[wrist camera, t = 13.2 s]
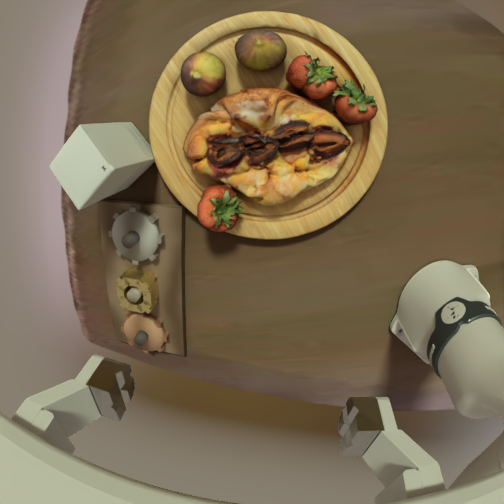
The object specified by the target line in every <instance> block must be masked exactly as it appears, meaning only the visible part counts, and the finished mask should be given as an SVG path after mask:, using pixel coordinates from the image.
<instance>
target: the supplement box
mask: <svg viewBox="0 0 504 504" xmlns="http://www.w3.org/2000/svg"><path fill="white" fill-rule="evenodd" d="M154 162H155V161H154V158H153V154H152V150H151V146H150V145H149V144H148V142H147V141H146V140H145V139H144V137H143V136H142V135H141V133H140V132H139V131H138V130H137V128H136V127H135V126H134V125H133V123H132V122H122V123H99V124H83V125H79V126H78V127H77V129H76V130H75V131H74V133H73V134H72V135H71V136H70V138H69V139H68V140H67V142H66V143H65V144H64V146H63V147H62V149H61V150H60V152H59V153H58V154H57V156H56V157H55V159H54V160H53V161H52V163H51V164H50V166H49V168H50V169H51V171H52V172H53V174H54V175H55V177H56V178H57V180H58V181H59V183H60V184H61V186H62V187H63V189H64V190H65V191H66V193H67V194H68V196H69V197H70V199H71V200H72V202H73V203H74V204H75V206H76V207H77V209H78V210H81V209H83V208H85V207H87V206H90V205H92V204H94V203H96V202H98V201H100V200H102V199H104V198H106V197H108V196H111V195H113V194H115V193H117V192H119V191H122V190H124V189H126V188H128V187H129V186H130V185H132V184H133V183H134V182H135V181H136V180H137V179H138V178H139V177H140V176H141V175H142V174H143V173H144V172H145V171H146V170H147V169H148V168H149V167H150V166H151V165H152V164H153V163H154Z"/></svg>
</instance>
